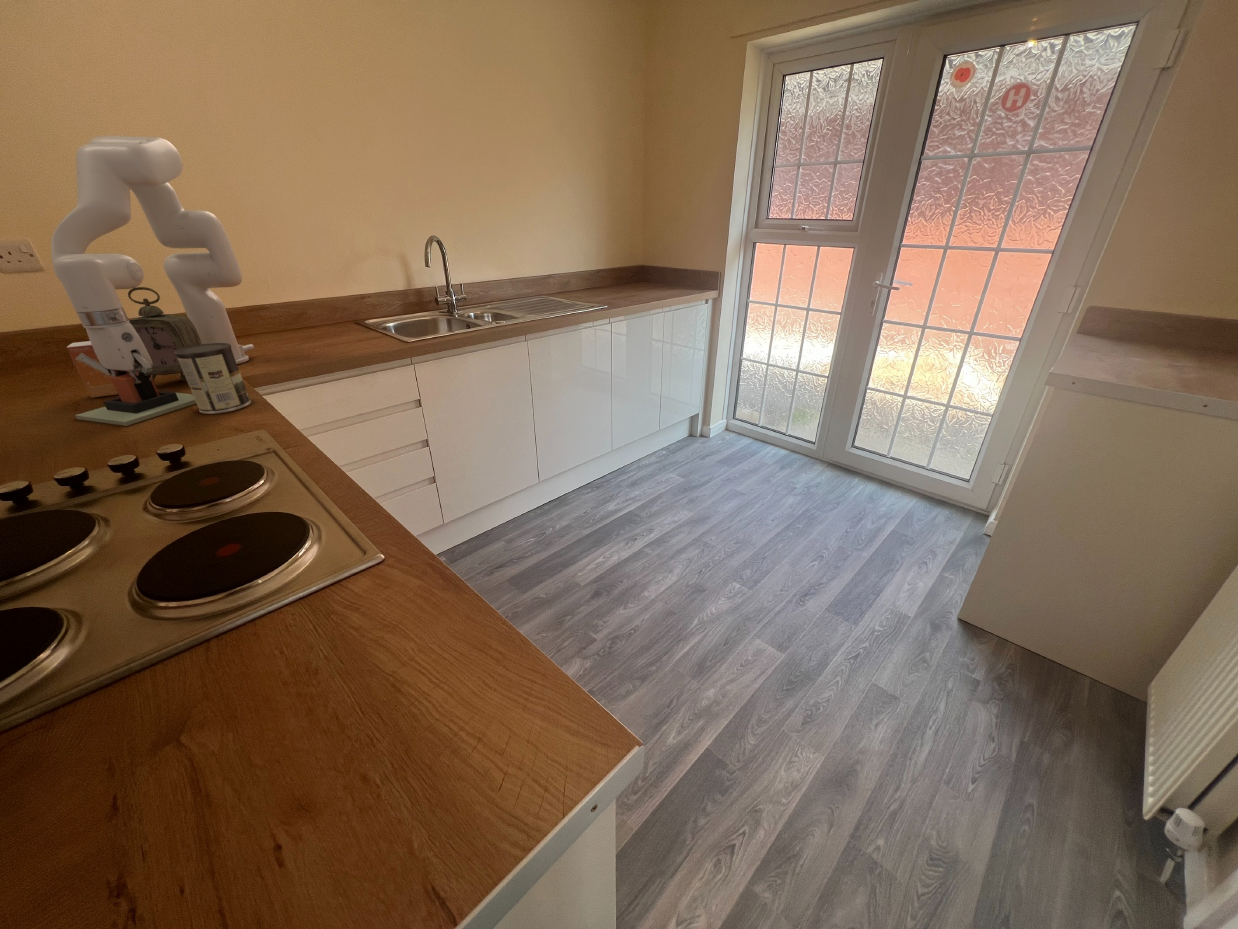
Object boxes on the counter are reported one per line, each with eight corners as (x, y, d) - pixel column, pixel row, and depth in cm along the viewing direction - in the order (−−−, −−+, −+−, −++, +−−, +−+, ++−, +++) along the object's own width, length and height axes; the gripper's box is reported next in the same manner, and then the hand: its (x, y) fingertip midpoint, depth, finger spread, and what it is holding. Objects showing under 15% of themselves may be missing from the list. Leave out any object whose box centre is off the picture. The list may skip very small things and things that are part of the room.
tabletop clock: (140, 389, 133) (95, 290, 121) (162, 379, 141) (122, 285, 129) (200, 385, 135) (161, 288, 123) (218, 376, 143) (183, 283, 131)
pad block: (146, 395, 120) (134, 371, 118) (160, 397, 119) (150, 373, 116) (122, 402, 116) (110, 377, 113) (137, 404, 115) (125, 379, 112)
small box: (91, 398, 126) (64, 347, 120) (96, 392, 131) (72, 342, 125) (133, 392, 130) (109, 342, 124) (137, 386, 135) (115, 337, 129)
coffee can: (231, 397, 125) (210, 341, 119) (261, 401, 122) (241, 344, 116) (187, 411, 116) (162, 351, 110) (219, 416, 113) (194, 354, 107)
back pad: (161, 394, 128) (156, 383, 127) (208, 399, 124) (203, 388, 123) (76, 419, 113) (70, 406, 112) (126, 426, 109) (120, 413, 107)
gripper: (150, 316, 110) (184, 395, 118) (97, 313, 115) (133, 389, 123) (111, 323, 104) (149, 406, 112) (56, 319, 108) (97, 399, 116)
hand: (140, 396), depth 117 cm, fingers closed on pad block, 5 cm apart
